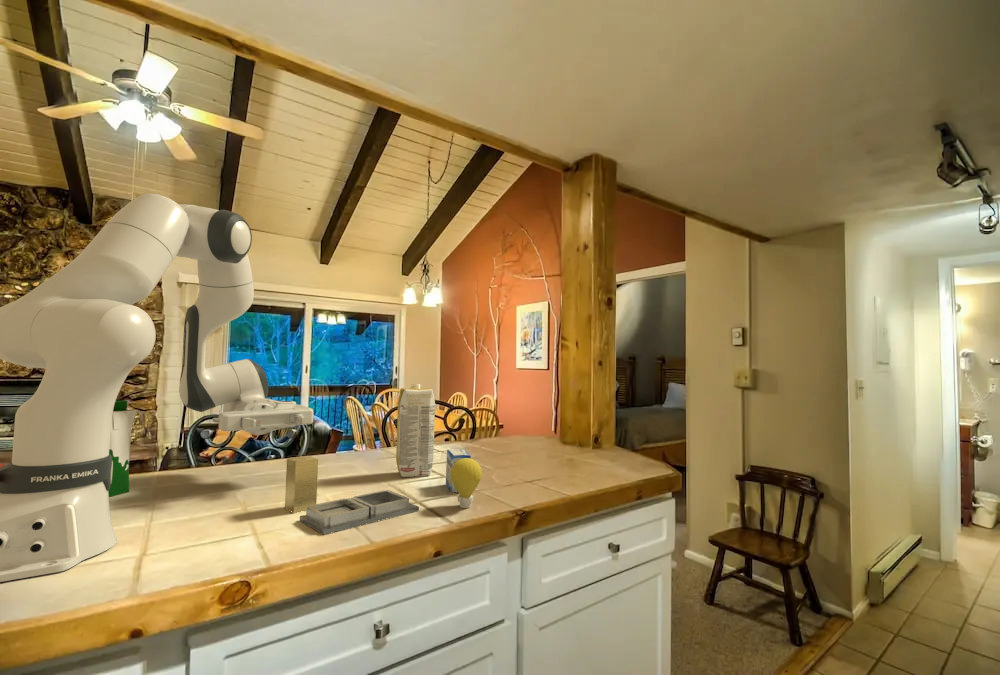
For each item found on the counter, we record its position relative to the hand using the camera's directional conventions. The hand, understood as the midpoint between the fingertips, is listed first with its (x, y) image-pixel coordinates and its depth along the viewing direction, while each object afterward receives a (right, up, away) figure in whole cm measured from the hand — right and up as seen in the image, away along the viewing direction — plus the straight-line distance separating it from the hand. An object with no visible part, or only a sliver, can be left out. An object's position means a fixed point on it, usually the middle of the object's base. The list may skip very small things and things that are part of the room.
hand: (279, 422), depth 106 cm
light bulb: (+42, -17, -6) cm, 46 cm away
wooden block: (+9, -16, -10) cm, 21 cm away
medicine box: (+39, -17, +8) cm, 44 cm away
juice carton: (+26, -18, +20) cm, 38 cm away
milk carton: (-37, -15, -4) cm, 40 cm away
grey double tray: (+22, -16, -14) cm, 31 cm away
